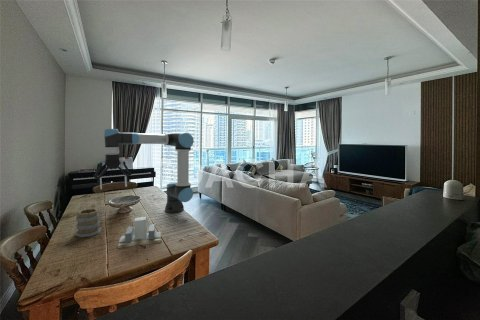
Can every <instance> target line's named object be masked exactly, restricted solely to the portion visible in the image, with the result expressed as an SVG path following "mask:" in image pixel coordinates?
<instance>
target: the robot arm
mask: <svg viewBox="0 0 480 320" xmlns="http://www.w3.org/2000/svg"><path fill="white" fill-rule="evenodd" d="M103 132H104V136H103V139H104V153H105V154H104V156H105V162H101V161H100V162H99V166H98V168H97V170H96V172H95V173H94V175H93V178H94V179H97V184H98V185H99V187H100V190H103V183H102V182H103V181H102V176H103V175H104V174H105V173H106V172H107V171H108V170H117V169H118V170H119V171H120V172H121V173H122V174H124V187H125V188H126V187H128V182H129V177H131V176H132V172H131V171H130V169H129V168H128V166H127V164H126V161H125V160H123V161H121V160H120V145H137V144H138V145H143V144H144V145H164V146H170V147H175V148H174V149H175V151H176V152H177V154H176V156H177V160H176V161H177V165H176V169H177V173H176V174H177V182H169V183H167V184H166V203H165V207H164V212H166V213H168V214H169V213H170V214H175V213H176V212H177V213H180V212H179V211H181V212H183V211H184V209H185V207H184V204H183V203H188V202H190V201H191V200H192V199H193V197H194V191H193V189H192V188H191V183H190V182H189V180H190V179H189V176H190V172H189V171H190V170H189V168H190V167H189V166H190V164H189V163H190V162H189V160H190V157H189V155H190V154H189V152H190V151H191V150H192V146H193V145H194V143H195V142H194V141H195V139H194V137H193V135H192V134H191V133H189V132H187V131H181V132H180V131H177V132H175V131H174V132H166V133H163V134H161V133H139V132H120V131H119V129H118V128H105V129H104V131H103ZM104 165H105V166H106V167H105V168H104V169H103V170H102V168H103V167H104ZM120 165H122V166H123V167H124V168H125V170H126V171H125V170H124V169H122V168H121V166H120ZM101 170H102V171H101ZM100 171H101V173H100ZM99 173H100V174H99ZM182 210H183V211H182Z"/></svg>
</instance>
